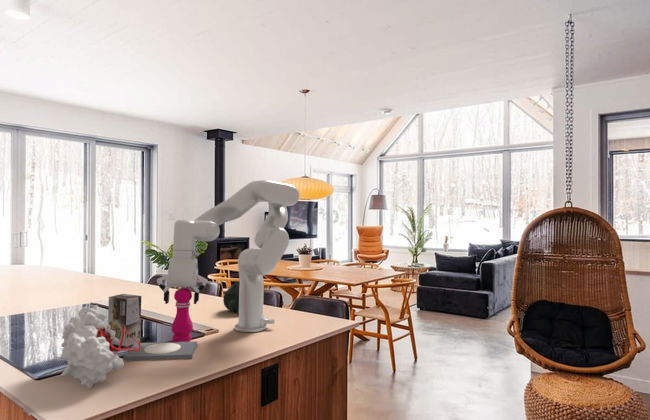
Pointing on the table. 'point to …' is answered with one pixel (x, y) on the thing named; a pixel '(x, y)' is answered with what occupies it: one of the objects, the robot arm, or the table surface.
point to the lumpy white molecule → (91, 347)
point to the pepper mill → (182, 316)
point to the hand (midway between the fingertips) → (181, 303)
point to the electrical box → (125, 317)
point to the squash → (232, 298)
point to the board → (161, 351)
